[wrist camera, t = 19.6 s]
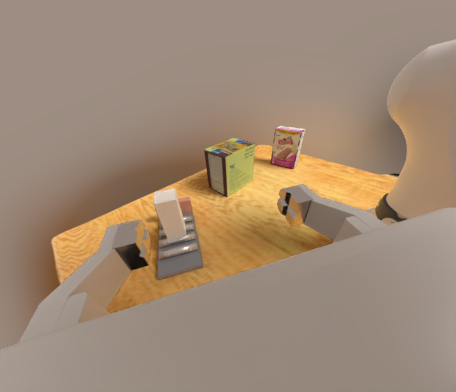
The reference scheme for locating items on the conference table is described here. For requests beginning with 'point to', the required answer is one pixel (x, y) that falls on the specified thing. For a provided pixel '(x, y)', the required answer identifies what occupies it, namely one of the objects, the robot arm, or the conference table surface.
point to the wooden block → (170, 214)
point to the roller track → (180, 259)
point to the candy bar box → (287, 146)
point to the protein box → (230, 165)
